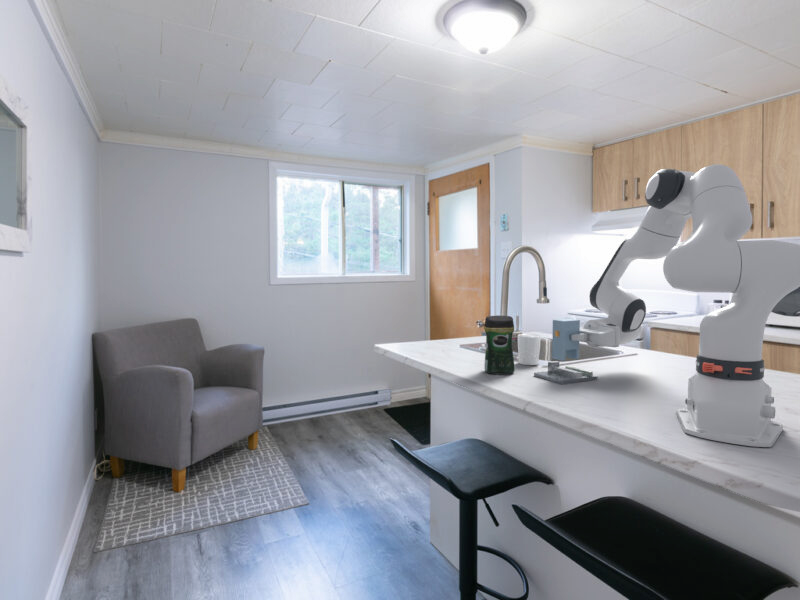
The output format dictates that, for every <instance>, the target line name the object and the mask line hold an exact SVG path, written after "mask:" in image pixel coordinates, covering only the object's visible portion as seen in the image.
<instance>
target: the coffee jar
mask: <svg viewBox="0 0 800 600" xmlns="http://www.w3.org/2000/svg"><path fill="white" fill-rule="evenodd" d="M483 330H484V333H485V337H486V338H485V343H486V344H485V355H484V368H483V369H484V371H485V372H486V373H488V374H494V375H507V374H513V373H514V372H515V370H516V369H515V359H514V358H515V357H514V350H513V333H514V331H515V322H514V319H513V316H512V315H511V316H510V315H501V314H499V315H488V316H486V317H485V319H484V327H483Z"/></svg>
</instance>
